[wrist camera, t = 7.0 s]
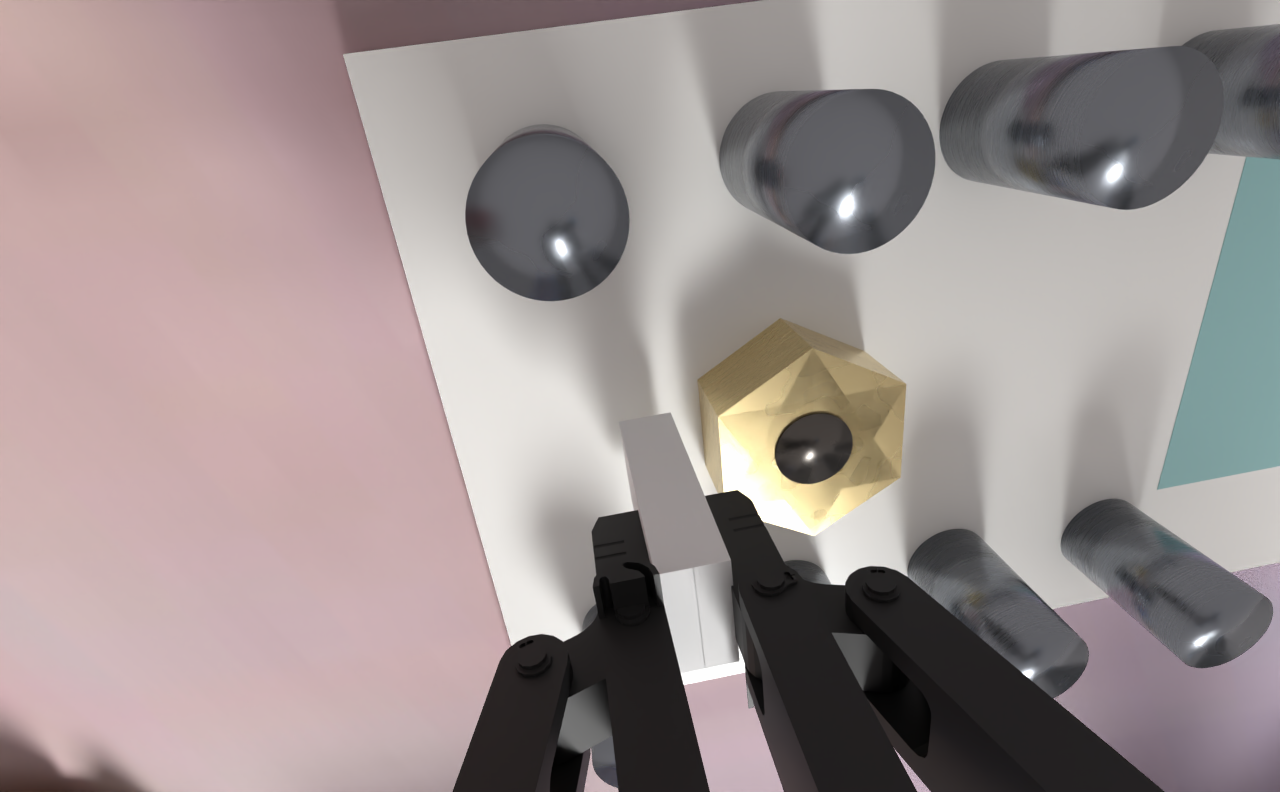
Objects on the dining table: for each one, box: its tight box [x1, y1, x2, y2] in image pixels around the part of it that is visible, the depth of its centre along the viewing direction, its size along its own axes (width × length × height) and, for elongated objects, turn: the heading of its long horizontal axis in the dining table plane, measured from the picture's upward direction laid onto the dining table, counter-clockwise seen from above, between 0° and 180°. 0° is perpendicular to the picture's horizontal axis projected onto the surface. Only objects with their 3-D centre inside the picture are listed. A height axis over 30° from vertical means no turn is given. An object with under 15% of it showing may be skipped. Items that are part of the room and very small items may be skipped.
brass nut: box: [697, 318, 906, 536], centre depth 19 cm, size 6×5×3 cm
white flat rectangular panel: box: [343, 0, 1280, 685], centre depth 21 cm, size 32×22×1 cm
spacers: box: [465, 24, 1280, 788], centre depth 18 cm, size 21×18×5 cm
